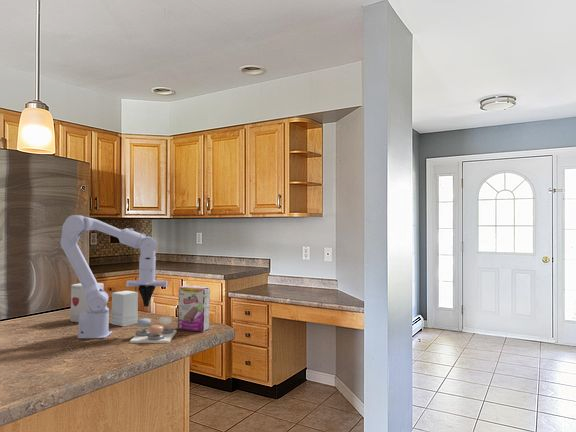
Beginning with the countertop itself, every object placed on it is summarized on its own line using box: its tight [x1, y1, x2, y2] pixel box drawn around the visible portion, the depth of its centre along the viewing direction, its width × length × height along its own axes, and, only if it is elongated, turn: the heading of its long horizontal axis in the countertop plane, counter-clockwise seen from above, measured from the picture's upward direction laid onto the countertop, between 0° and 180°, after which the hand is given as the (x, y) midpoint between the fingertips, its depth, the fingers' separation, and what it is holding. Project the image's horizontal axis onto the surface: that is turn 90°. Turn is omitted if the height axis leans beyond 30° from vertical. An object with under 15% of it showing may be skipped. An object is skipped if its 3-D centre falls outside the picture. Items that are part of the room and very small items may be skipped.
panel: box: [129, 326, 178, 344], centre depth 152 cm, size 13×14×3 cm
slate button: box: [136, 317, 152, 328], centre depth 153 cm, size 5×5×2 cm
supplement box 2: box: [110, 290, 139, 327], centre depth 171 cm, size 7×7×13 cm
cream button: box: [158, 316, 173, 326], centre depth 157 cm, size 5×5×2 cm
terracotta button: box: [148, 324, 164, 334], centre depth 148 cm, size 5×5×2 cm
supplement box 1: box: [69, 282, 105, 323], centre depth 176 cm, size 9×9×15 cm
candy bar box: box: [177, 284, 211, 332], centre depth 164 cm, size 11×5×16 cm, turn 74°
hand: (146, 306), depth 158 cm, fingers closed
